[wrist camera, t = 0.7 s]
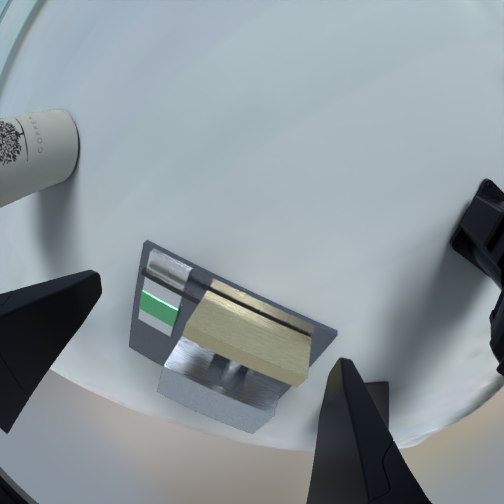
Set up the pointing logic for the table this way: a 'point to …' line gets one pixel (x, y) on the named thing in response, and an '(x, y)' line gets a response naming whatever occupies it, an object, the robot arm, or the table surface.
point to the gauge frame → (199, 358)
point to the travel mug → (35, 152)
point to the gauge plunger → (242, 336)
